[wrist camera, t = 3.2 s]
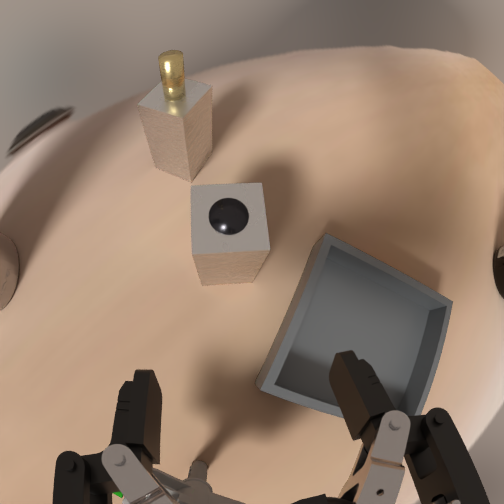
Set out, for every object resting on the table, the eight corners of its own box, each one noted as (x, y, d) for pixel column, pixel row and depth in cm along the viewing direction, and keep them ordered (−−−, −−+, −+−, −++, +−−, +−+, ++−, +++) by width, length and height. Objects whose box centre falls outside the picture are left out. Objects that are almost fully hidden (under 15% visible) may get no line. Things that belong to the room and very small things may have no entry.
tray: (254, 383, 23) (260, 390, 19) (314, 243, 27) (326, 230, 24) (393, 426, 22) (412, 433, 19) (433, 304, 27) (453, 298, 23)
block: (202, 285, 25) (191, 254, 16) (199, 238, 26) (190, 185, 17) (252, 282, 25) (270, 249, 16) (247, 235, 27) (261, 182, 18)
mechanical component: (154, 431, 20) (119, 476, 11) (256, 474, 20) (276, 534, 10) (142, 453, 19) (106, 503, 10) (243, 495, 19) (255, 557, 9)
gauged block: (155, 168, 28) (127, 67, 15) (177, 138, 29) (164, 39, 17) (191, 182, 28) (178, 77, 15) (212, 151, 29) (213, 48, 16)
